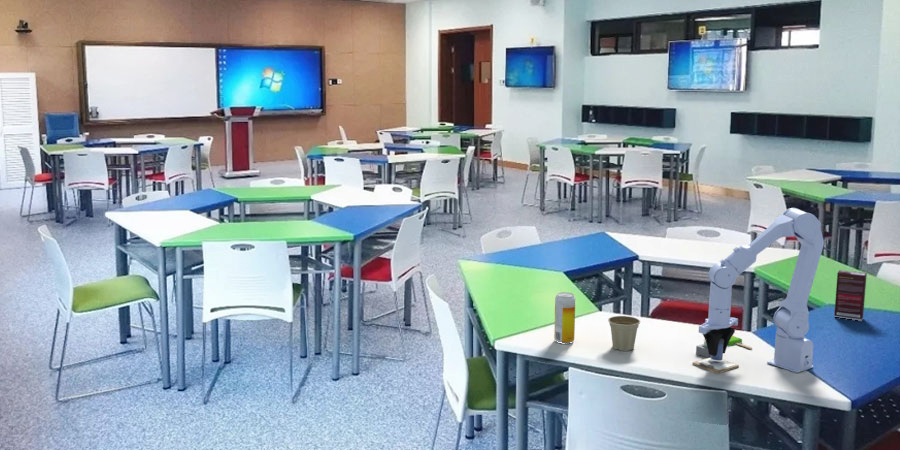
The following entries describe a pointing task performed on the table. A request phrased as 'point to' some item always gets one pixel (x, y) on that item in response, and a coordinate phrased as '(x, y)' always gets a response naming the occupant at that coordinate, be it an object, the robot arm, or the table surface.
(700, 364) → the clipboard
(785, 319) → the robot arm
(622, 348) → the flower pot
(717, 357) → the blue small bottle
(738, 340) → the popsicle
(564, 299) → the beer can
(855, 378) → the table surface
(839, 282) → the supplement box
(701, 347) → the button housing
